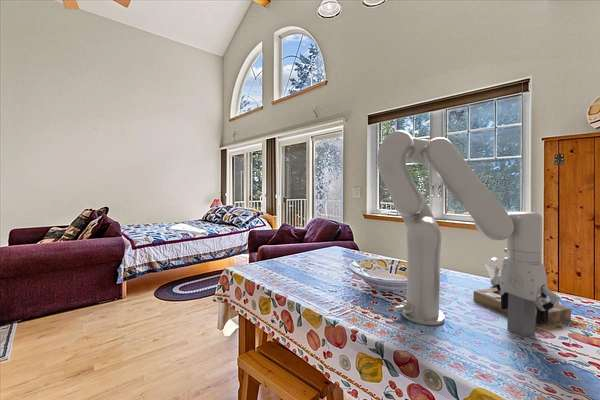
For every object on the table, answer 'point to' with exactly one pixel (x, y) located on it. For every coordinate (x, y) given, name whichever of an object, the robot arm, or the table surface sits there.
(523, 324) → the plug
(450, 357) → the table surface
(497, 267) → the light bulb
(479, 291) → the socket block
